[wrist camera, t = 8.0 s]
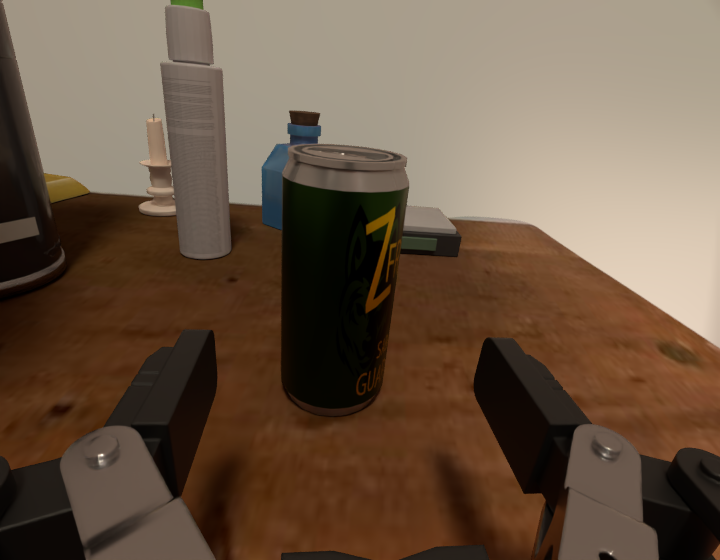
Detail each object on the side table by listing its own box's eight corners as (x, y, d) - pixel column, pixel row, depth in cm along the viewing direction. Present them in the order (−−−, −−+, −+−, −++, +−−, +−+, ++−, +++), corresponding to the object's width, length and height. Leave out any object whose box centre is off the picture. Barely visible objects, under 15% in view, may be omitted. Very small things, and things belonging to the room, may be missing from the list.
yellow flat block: (-46, 180, 43) (-40, 199, 44) (23, 190, 42) (29, 210, 43) (28, 167, 51) (32, 183, 52) (89, 175, 50) (92, 192, 51)
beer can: (262, 405, 20) (257, 151, 15) (303, 346, 25) (310, 139, 20) (368, 433, 19) (401, 170, 14) (390, 366, 24) (420, 153, 18)
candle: (170, 218, 44) (159, 116, 40) (128, 212, 45) (112, 111, 41) (197, 207, 49) (190, 115, 44) (159, 201, 50) (148, 110, 45)
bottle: (240, 253, 37) (230, -9, 29) (194, 263, 34) (168, -26, 26) (216, 239, 40) (199, -5, 31) (171, 248, 37) (140, -19, 28)
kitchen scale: (370, 252, 40) (373, 225, 39) (365, 224, 49) (367, 201, 47) (458, 258, 41) (464, 231, 40) (438, 229, 49) (442, 207, 48)
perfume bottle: (302, 237, 42) (306, 114, 37) (262, 223, 46) (260, 108, 41) (339, 226, 47) (347, 115, 42) (300, 214, 50) (303, 109, 45)
